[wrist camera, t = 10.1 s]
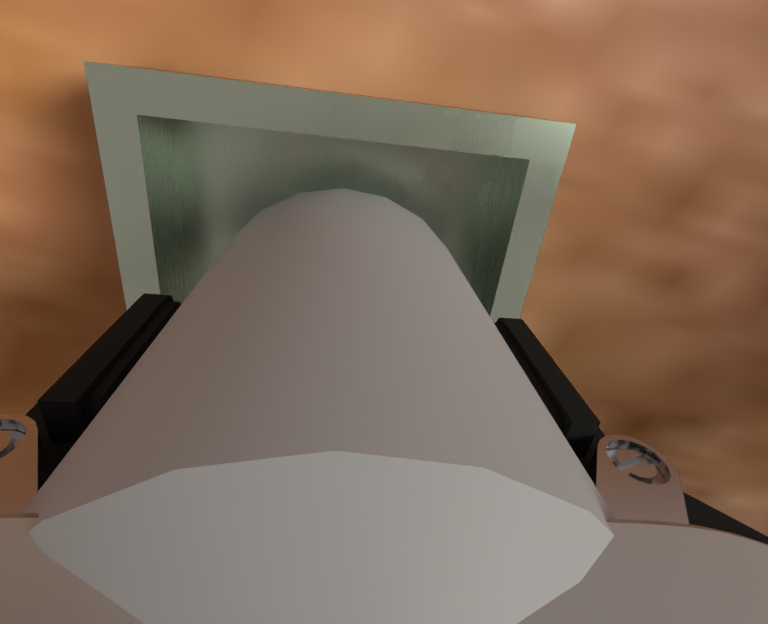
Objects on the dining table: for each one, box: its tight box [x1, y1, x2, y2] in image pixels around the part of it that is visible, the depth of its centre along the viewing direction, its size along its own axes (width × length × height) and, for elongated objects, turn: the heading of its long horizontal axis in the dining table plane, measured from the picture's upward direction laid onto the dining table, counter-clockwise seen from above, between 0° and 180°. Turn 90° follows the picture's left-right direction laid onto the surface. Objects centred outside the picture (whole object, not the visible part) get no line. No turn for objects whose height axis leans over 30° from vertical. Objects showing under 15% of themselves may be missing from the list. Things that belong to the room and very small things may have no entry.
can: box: [22, 188, 616, 624], centre depth 9 cm, size 8×8×12 cm
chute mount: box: [84, 61, 576, 323], centre depth 14 cm, size 12×19×7 cm, turn 173°
